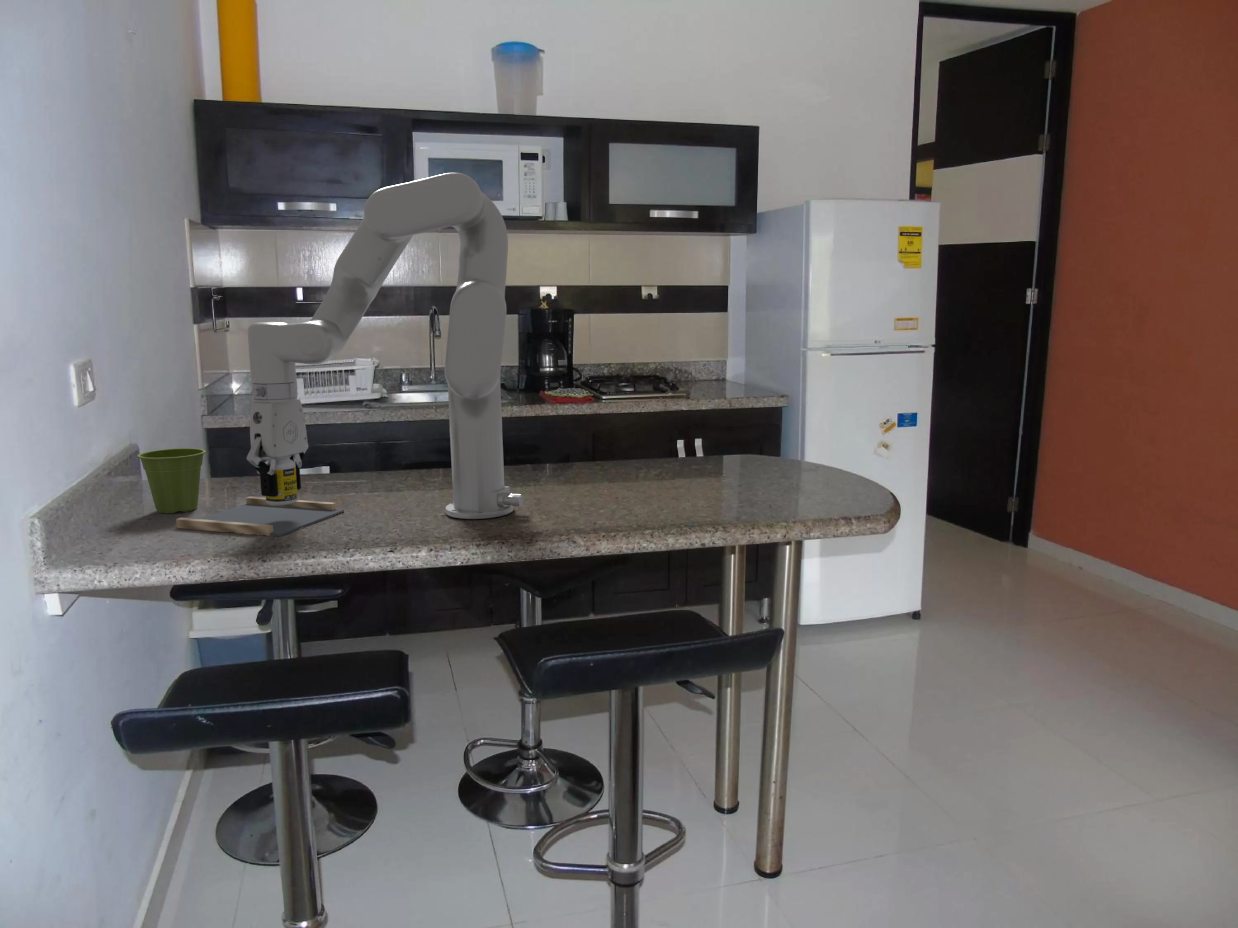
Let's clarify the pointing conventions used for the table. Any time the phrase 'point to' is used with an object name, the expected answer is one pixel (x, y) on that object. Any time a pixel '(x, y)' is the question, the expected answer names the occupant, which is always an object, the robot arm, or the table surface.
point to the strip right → (297, 504)
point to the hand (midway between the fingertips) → (281, 491)
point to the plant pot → (173, 477)
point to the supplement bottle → (284, 482)
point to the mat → (274, 516)
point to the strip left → (224, 526)
